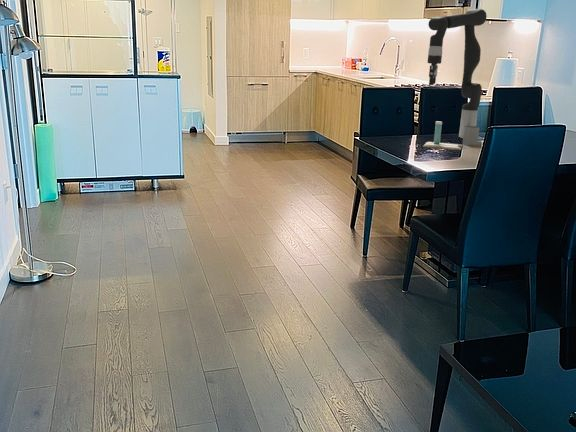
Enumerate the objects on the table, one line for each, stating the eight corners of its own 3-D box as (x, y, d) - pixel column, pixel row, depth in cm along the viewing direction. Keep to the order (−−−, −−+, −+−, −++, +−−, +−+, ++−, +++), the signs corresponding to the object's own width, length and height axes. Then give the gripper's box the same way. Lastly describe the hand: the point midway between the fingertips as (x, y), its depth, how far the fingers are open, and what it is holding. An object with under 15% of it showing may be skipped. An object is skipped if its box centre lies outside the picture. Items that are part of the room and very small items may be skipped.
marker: (433, 142, 321) (436, 121, 318) (440, 143, 320) (442, 121, 317) (433, 143, 318) (435, 121, 315) (439, 144, 317) (441, 122, 313)
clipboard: (426, 143, 326) (427, 140, 326) (462, 146, 319) (463, 143, 319) (423, 147, 314) (423, 143, 313) (460, 150, 307) (460, 147, 306)
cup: (461, 144, 326) (463, 127, 323) (463, 142, 333) (465, 125, 330) (476, 145, 322) (478, 128, 320) (478, 143, 330) (480, 126, 327)
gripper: (430, 54, 323) (427, 83, 328) (426, 54, 310) (423, 84, 315) (443, 54, 321) (440, 84, 325) (440, 55, 308) (437, 85, 313)
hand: (432, 84), depth 320 cm, fingers open, 8 cm apart
